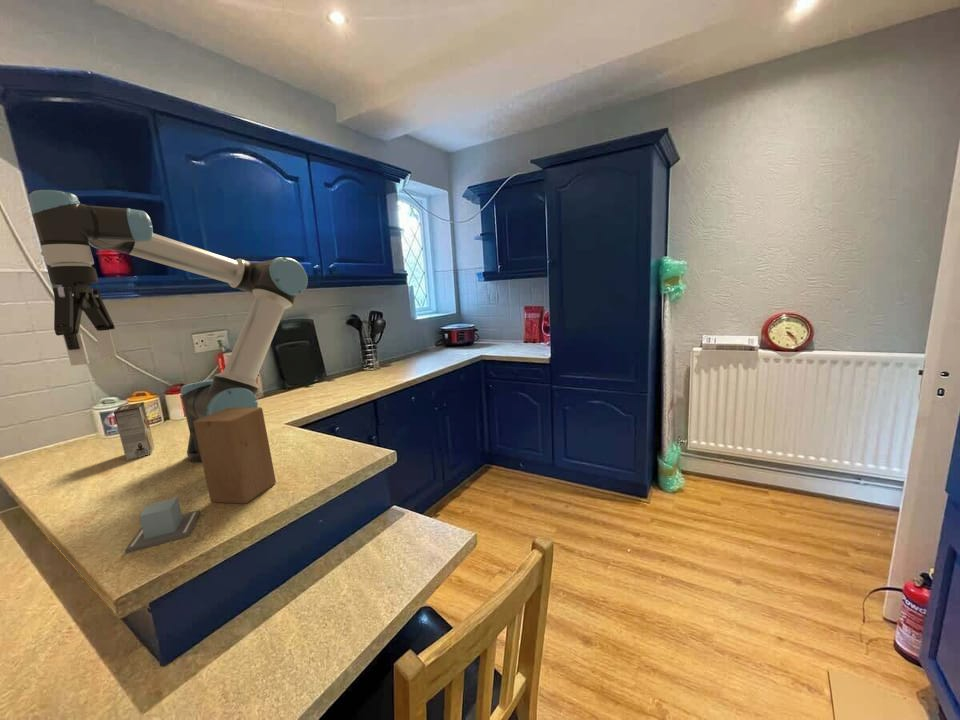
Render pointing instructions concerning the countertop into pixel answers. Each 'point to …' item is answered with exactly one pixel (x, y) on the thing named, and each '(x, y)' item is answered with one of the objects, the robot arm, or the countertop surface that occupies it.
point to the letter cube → (160, 518)
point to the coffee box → (134, 430)
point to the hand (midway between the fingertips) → (95, 360)
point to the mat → (181, 532)
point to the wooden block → (235, 454)
